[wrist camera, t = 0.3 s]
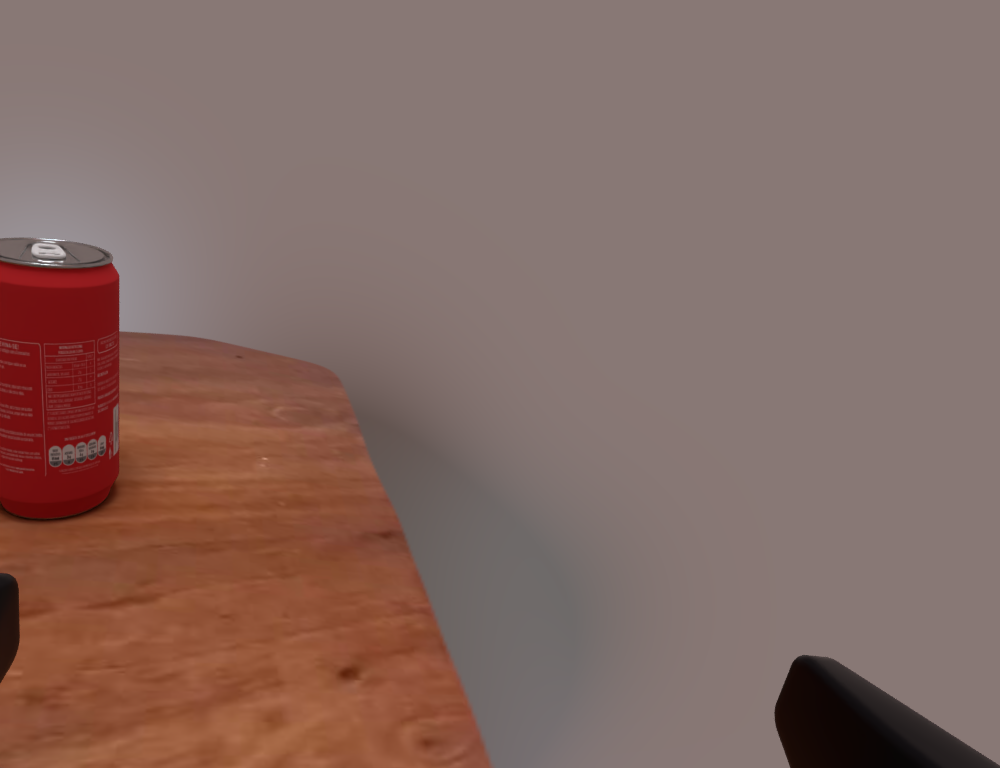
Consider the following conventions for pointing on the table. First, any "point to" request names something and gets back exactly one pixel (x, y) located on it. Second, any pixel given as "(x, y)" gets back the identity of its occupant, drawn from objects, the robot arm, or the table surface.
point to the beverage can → (57, 377)
